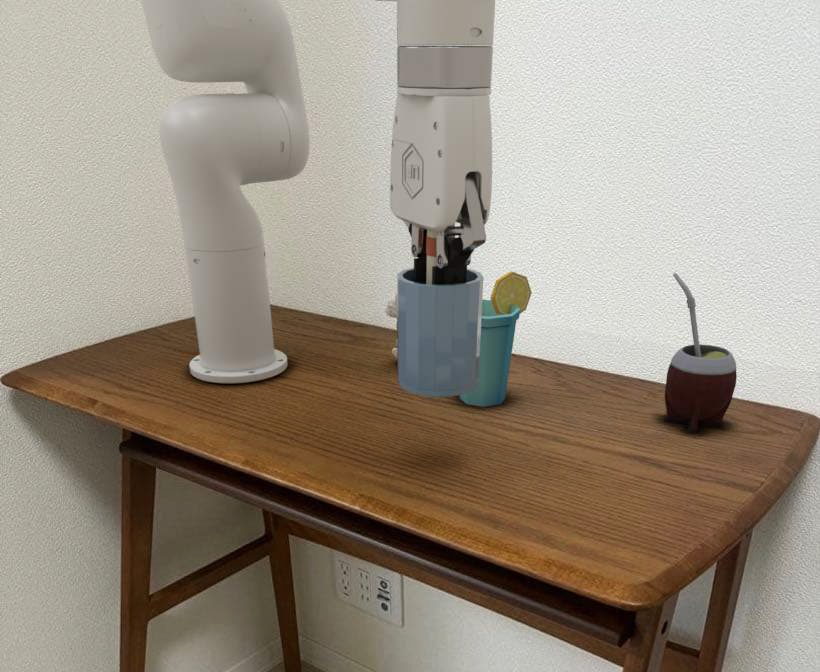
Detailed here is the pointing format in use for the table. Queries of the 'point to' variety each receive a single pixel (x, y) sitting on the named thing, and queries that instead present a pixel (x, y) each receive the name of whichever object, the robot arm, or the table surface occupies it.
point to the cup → (498, 338)
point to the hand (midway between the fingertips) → (439, 304)
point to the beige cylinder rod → (432, 253)
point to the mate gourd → (699, 380)
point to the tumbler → (438, 335)
